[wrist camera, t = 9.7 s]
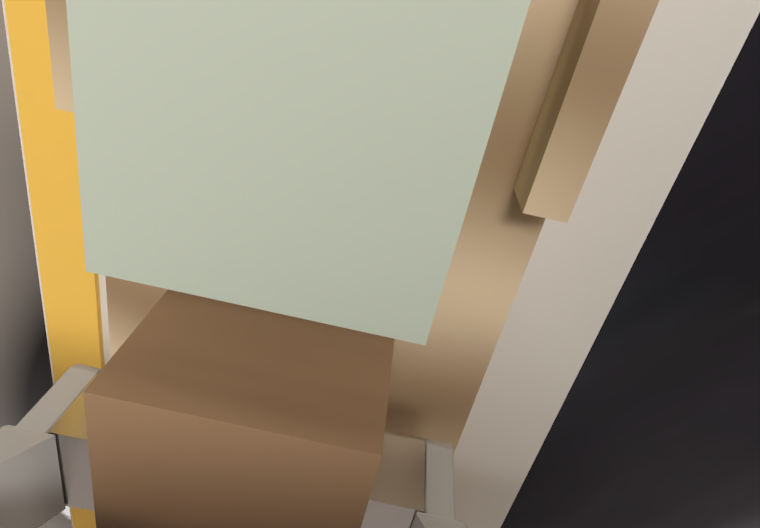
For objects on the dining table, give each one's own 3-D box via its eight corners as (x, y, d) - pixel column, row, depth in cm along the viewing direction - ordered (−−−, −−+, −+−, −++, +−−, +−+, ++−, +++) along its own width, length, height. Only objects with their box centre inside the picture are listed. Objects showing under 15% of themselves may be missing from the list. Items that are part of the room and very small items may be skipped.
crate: (225, -98, 9) (54, -157, 5) (494, -35, 9) (543, -43, 5) (211, 164, 11) (86, 271, 7) (427, 212, 11) (426, 345, 7)
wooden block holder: (156, -368, 9) (-641, -1334, 2) (672, -243, 9) (1308, -804, 3) (159, 516, 21) (27, 779, 14) (387, 564, 21) (365, 846, 14)
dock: (72, -502, 11) (-107, -734, 7) (818, -317, 11) (1001, -452, 8) (123, 468, 26) (71, 551, 22) (449, 536, 26) (451, 629, 22)
